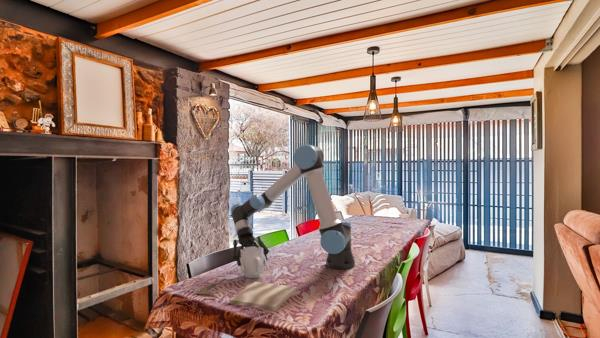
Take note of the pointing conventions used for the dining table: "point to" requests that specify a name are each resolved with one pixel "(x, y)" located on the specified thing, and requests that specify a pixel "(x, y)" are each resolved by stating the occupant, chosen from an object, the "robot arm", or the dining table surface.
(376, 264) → the dining table surface
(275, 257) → the dining table surface
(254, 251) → the mug
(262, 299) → the board
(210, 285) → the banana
